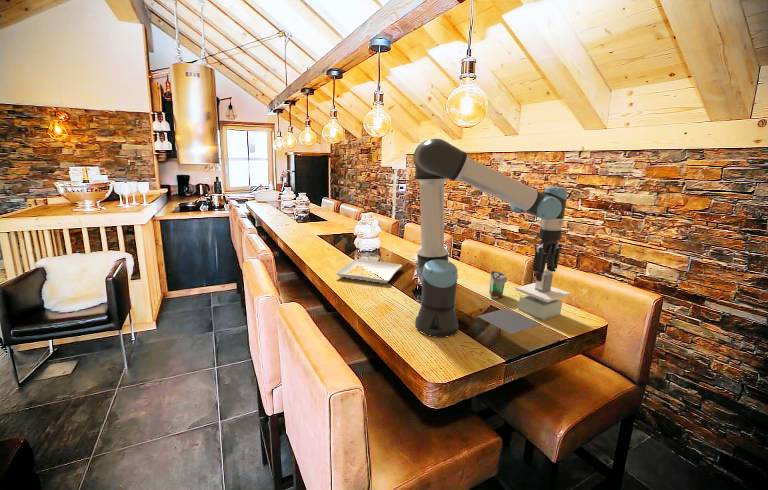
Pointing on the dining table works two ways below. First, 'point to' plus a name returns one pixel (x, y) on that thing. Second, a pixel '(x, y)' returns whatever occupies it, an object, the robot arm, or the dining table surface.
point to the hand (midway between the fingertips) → (542, 287)
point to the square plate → (375, 267)
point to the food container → (497, 284)
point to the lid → (544, 290)
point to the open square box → (539, 307)
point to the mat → (508, 320)
